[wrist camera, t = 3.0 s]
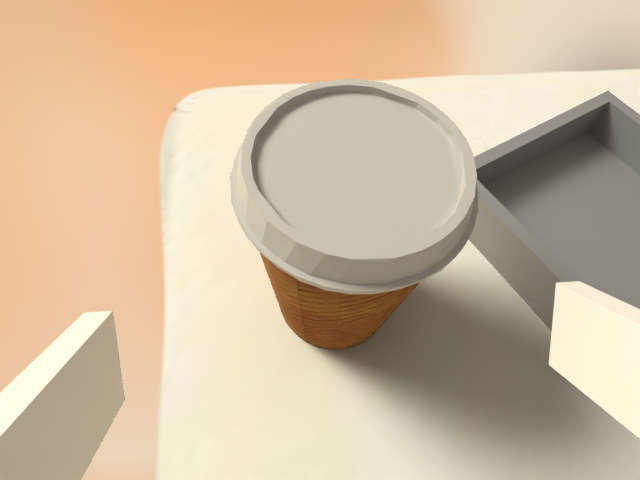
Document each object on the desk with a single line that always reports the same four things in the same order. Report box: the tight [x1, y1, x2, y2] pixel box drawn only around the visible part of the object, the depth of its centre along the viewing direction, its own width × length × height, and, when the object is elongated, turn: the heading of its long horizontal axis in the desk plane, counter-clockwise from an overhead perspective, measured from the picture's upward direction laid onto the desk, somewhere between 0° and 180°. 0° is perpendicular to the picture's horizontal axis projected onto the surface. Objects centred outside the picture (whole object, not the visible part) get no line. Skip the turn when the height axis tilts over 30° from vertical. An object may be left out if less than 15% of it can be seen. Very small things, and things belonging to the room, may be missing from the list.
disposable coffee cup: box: [230, 79, 478, 349], centre depth 22 cm, size 10×10×12 cm
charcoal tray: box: [469, 91, 640, 330], centre depth 29 cm, size 15×15×4 cm
